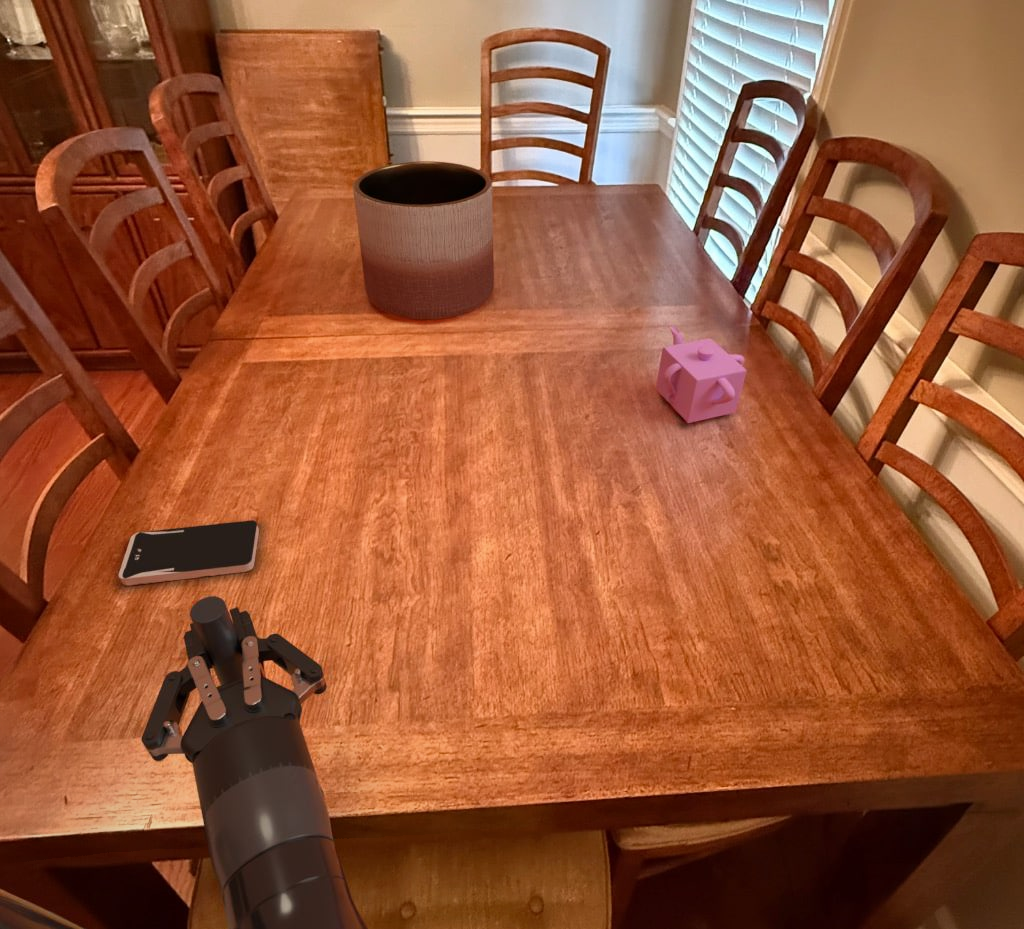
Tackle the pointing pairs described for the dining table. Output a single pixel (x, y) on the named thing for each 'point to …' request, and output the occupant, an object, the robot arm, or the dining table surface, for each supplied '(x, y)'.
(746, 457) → the dining table surface
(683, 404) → the teapot
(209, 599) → the dark grey cylinder
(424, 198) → the planter
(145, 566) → the smartphone
